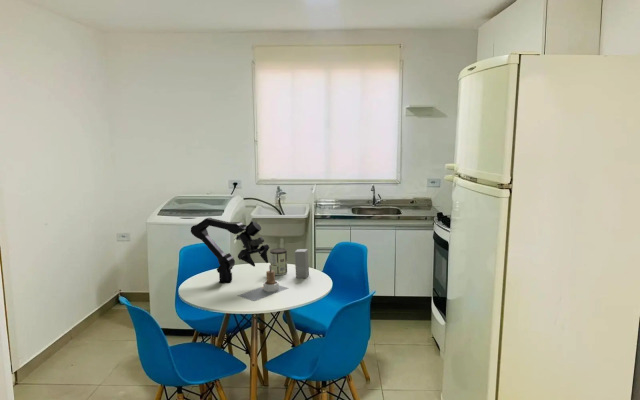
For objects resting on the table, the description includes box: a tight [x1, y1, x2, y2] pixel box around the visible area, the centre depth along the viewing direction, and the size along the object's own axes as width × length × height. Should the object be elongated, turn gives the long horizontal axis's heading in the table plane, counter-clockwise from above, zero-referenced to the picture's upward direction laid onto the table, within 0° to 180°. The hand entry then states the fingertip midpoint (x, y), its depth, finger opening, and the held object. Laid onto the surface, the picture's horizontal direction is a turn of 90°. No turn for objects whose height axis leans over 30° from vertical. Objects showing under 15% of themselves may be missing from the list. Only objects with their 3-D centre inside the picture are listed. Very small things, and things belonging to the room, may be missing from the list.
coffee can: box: [269, 247, 288, 276], centre depth 266 cm, size 10×10×14 cm
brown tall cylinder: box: [265, 264, 276, 285], centre depth 233 cm, size 4×4×13 cm
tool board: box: [236, 280, 289, 302], centre depth 230 cm, size 25×13×4 cm, turn 141°
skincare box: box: [294, 248, 310, 279], centre depth 259 cm, size 8×7×16 cm
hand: (261, 264), depth 237 cm, fingers open, 9 cm apart
